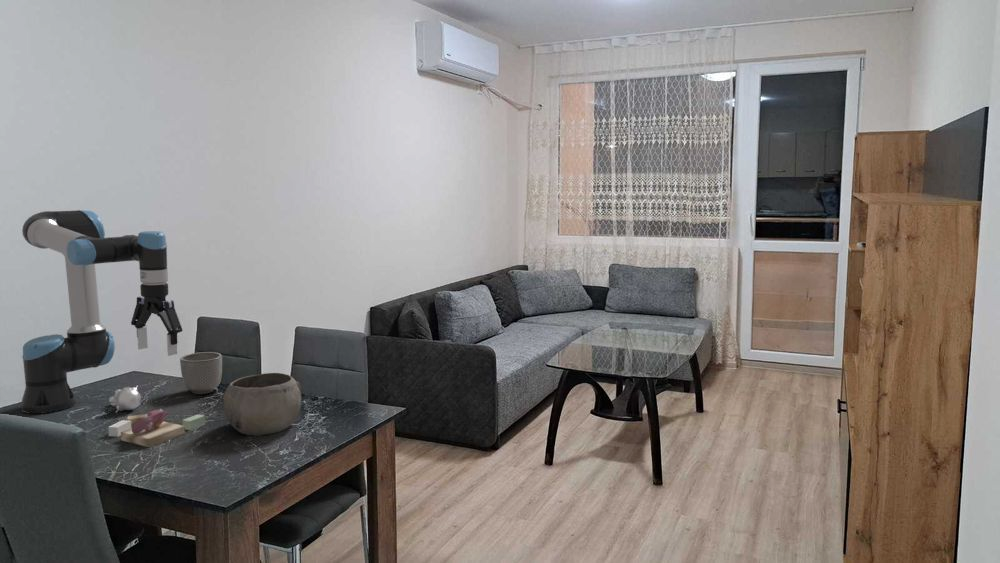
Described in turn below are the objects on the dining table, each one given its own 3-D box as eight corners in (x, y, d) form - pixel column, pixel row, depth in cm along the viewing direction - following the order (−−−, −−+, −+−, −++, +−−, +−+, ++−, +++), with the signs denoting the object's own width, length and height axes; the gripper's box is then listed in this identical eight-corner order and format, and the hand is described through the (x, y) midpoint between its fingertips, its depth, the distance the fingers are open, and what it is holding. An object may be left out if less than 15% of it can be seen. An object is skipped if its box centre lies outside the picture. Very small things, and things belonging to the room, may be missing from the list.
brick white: (122, 429, 216) (121, 420, 215) (131, 430, 215) (130, 420, 215) (109, 436, 210) (108, 426, 209) (118, 437, 209) (117, 427, 209)
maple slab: (121, 440, 206) (120, 432, 206) (157, 427, 217) (156, 419, 217) (149, 447, 201) (148, 438, 201) (184, 434, 212) (184, 426, 211)
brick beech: (127, 428, 217) (127, 419, 216) (128, 425, 219) (127, 416, 219) (149, 426, 219) (149, 416, 219) (149, 422, 222) (149, 413, 221)
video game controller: (141, 440, 204) (149, 420, 202) (129, 432, 204) (136, 412, 203) (165, 429, 213) (173, 410, 211) (154, 421, 214) (161, 402, 212)
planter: (214, 397, 247) (212, 361, 245) (174, 397, 247) (172, 361, 246) (229, 386, 261) (228, 352, 259) (192, 385, 261) (190, 351, 259)
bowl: (281, 409, 235) (279, 365, 233) (316, 427, 219) (315, 380, 217) (212, 426, 219) (209, 379, 217) (244, 446, 203) (242, 395, 201)
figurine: (119, 378, 241) (133, 379, 230) (137, 391, 245) (152, 392, 234) (97, 405, 236) (110, 407, 225) (116, 417, 240) (130, 419, 229)
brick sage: (189, 430, 215) (189, 421, 215) (182, 429, 216) (182, 419, 216) (205, 424, 221) (205, 415, 220) (198, 423, 222) (198, 414, 221)
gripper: (116, 280, 215) (119, 348, 219) (171, 288, 204) (174, 360, 207) (138, 277, 222) (141, 343, 225) (193, 285, 211) (195, 354, 214)
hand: (157, 351), depth 216 cm, fingers open, 13 cm apart
